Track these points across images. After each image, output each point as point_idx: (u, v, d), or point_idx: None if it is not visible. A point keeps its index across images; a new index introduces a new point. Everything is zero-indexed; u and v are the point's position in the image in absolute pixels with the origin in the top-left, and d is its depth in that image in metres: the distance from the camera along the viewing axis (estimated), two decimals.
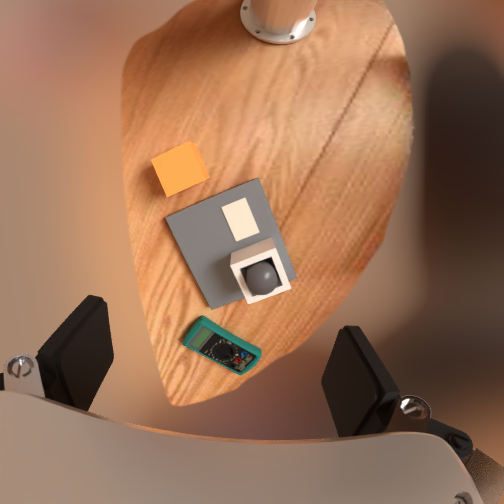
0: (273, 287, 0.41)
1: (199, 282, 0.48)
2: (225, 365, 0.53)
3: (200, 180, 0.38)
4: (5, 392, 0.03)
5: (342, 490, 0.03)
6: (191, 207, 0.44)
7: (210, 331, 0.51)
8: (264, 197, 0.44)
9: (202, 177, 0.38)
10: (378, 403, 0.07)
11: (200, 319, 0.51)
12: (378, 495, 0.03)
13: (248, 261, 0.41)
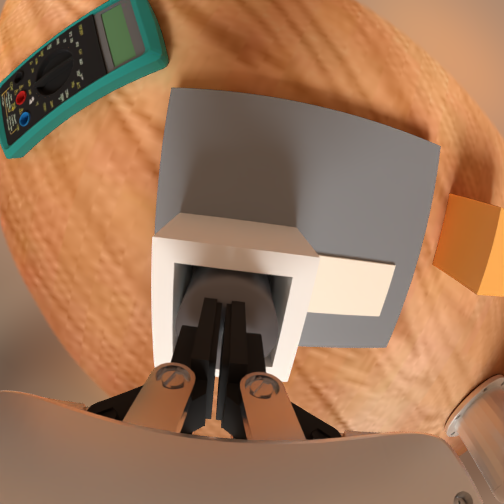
0: None
1: (267, 102, 0.15)
2: (27, 62, 0.12)
3: (481, 286, 0.14)
4: (5, 392, 0.03)
5: (342, 490, 0.03)
6: (428, 208, 0.17)
7: (118, 62, 0.13)
8: (354, 345, 0.20)
9: (481, 292, 0.14)
10: (228, 374, 0.08)
11: (164, 55, 0.14)
12: (378, 495, 0.03)
13: (297, 312, 0.12)
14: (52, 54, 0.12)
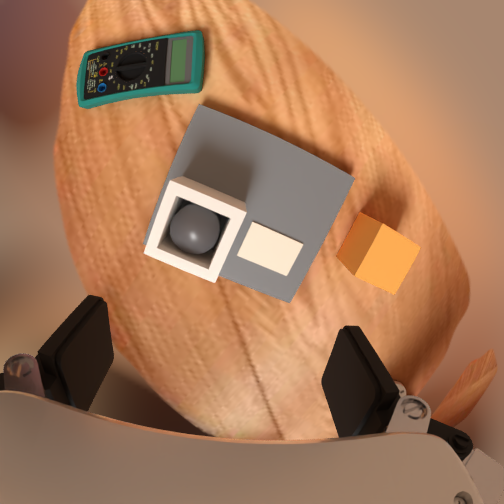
0: (173, 235, 0.25)
1: (248, 128, 0.26)
2: (114, 48, 0.22)
3: (358, 271, 0.27)
4: (5, 392, 0.03)
5: (342, 490, 0.03)
6: (335, 215, 0.30)
7: (172, 80, 0.24)
8: (266, 292, 0.32)
9: (358, 275, 0.27)
10: (378, 403, 0.07)
11: (200, 86, 0.25)
12: (378, 495, 0.03)
13: (229, 238, 0.24)
14: (133, 52, 0.22)
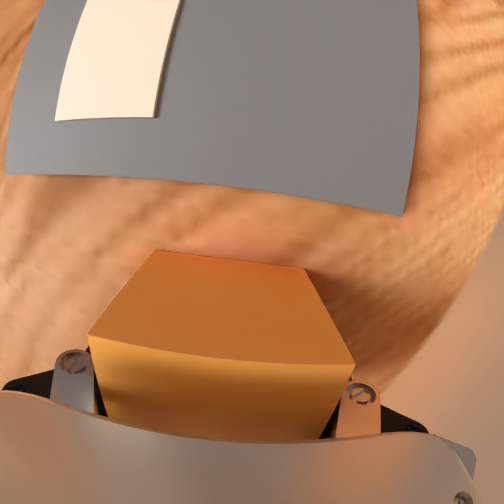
0: None
1: None
2: None
3: (112, 348, 0.05)
4: (5, 392, 0.03)
5: (342, 490, 0.03)
6: (281, 187, 0.09)
7: None
8: (16, 101, 0.07)
9: (98, 353, 0.05)
10: None
11: None
12: (378, 495, 0.03)
13: None
14: None
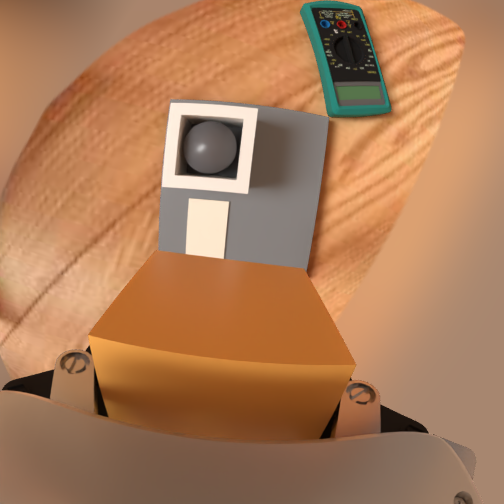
0: (197, 128, 0.21)
1: (319, 169, 0.27)
2: (366, 34, 0.22)
3: (113, 348, 0.05)
4: (5, 392, 0.03)
5: (342, 490, 0.03)
6: None
7: (338, 89, 0.25)
8: (160, 242, 0.29)
9: (98, 354, 0.05)
10: None
11: (334, 115, 0.26)
12: (378, 495, 0.03)
13: (214, 185, 0.22)
14: (362, 51, 0.23)
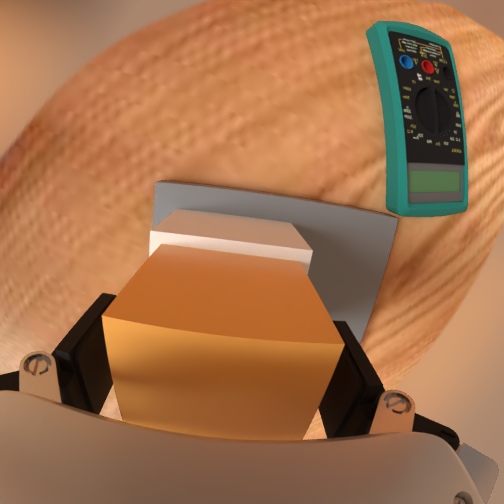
0: None
1: (373, 293, 0.19)
2: (456, 87, 0.14)
3: (125, 327, 0.06)
4: (5, 392, 0.03)
5: (341, 490, 0.03)
6: None
7: (410, 174, 0.16)
8: None
9: (111, 333, 0.06)
10: (361, 397, 0.07)
11: (397, 213, 0.18)
12: (378, 495, 0.03)
13: None
14: (449, 114, 0.15)
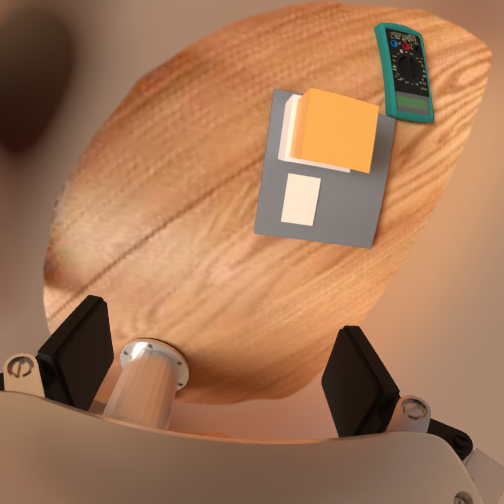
0: None
1: (387, 159, 0.32)
2: (423, 57, 0.26)
3: (318, 92, 0.19)
4: (5, 392, 0.03)
5: (342, 490, 0.03)
6: (340, 243, 0.36)
7: (397, 97, 0.29)
8: (260, 209, 0.34)
9: (312, 93, 0.19)
10: (378, 403, 0.07)
11: (392, 116, 0.30)
12: (378, 495, 0.03)
13: None
14: (418, 70, 0.27)
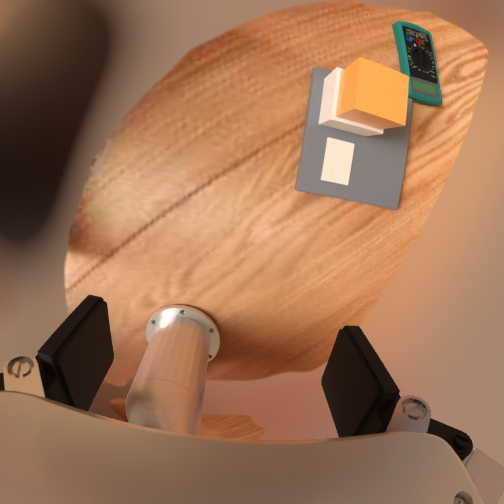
0: None
1: (407, 131, 0.35)
2: (432, 51, 0.30)
3: (365, 60, 0.22)
4: (5, 392, 0.03)
5: (342, 490, 0.03)
6: (371, 203, 0.38)
7: (412, 81, 0.32)
8: (302, 168, 0.36)
9: (361, 61, 0.22)
10: (378, 403, 0.07)
11: None
12: (378, 495, 0.03)
13: None
14: (429, 62, 0.30)
